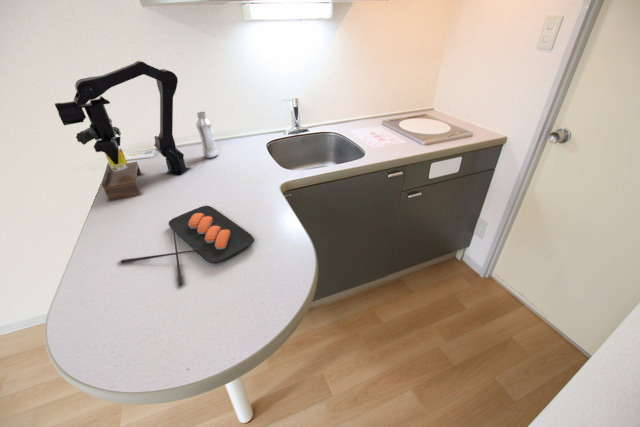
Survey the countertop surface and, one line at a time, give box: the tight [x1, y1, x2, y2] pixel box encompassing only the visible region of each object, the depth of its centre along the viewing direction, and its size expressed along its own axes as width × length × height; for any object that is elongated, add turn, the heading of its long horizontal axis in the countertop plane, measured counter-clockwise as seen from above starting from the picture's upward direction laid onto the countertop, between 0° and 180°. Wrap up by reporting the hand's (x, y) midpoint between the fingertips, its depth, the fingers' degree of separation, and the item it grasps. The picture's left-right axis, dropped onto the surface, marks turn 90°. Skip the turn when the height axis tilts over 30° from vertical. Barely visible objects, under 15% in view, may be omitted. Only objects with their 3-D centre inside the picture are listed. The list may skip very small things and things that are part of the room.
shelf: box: [101, 161, 143, 202], centre depth 119 cm, size 20×10×7 cm, turn 25°
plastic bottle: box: [196, 111, 219, 158], centre depth 138 cm, size 6×7×20 cm
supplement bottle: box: [104, 145, 128, 171], centre depth 114 cm, size 6×6×10 cm
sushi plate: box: [120, 205, 255, 286], centre depth 87 cm, size 29×30×4 cm
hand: (117, 161), depth 115 cm, fingers closed on supplement bottle, 5 cm apart
